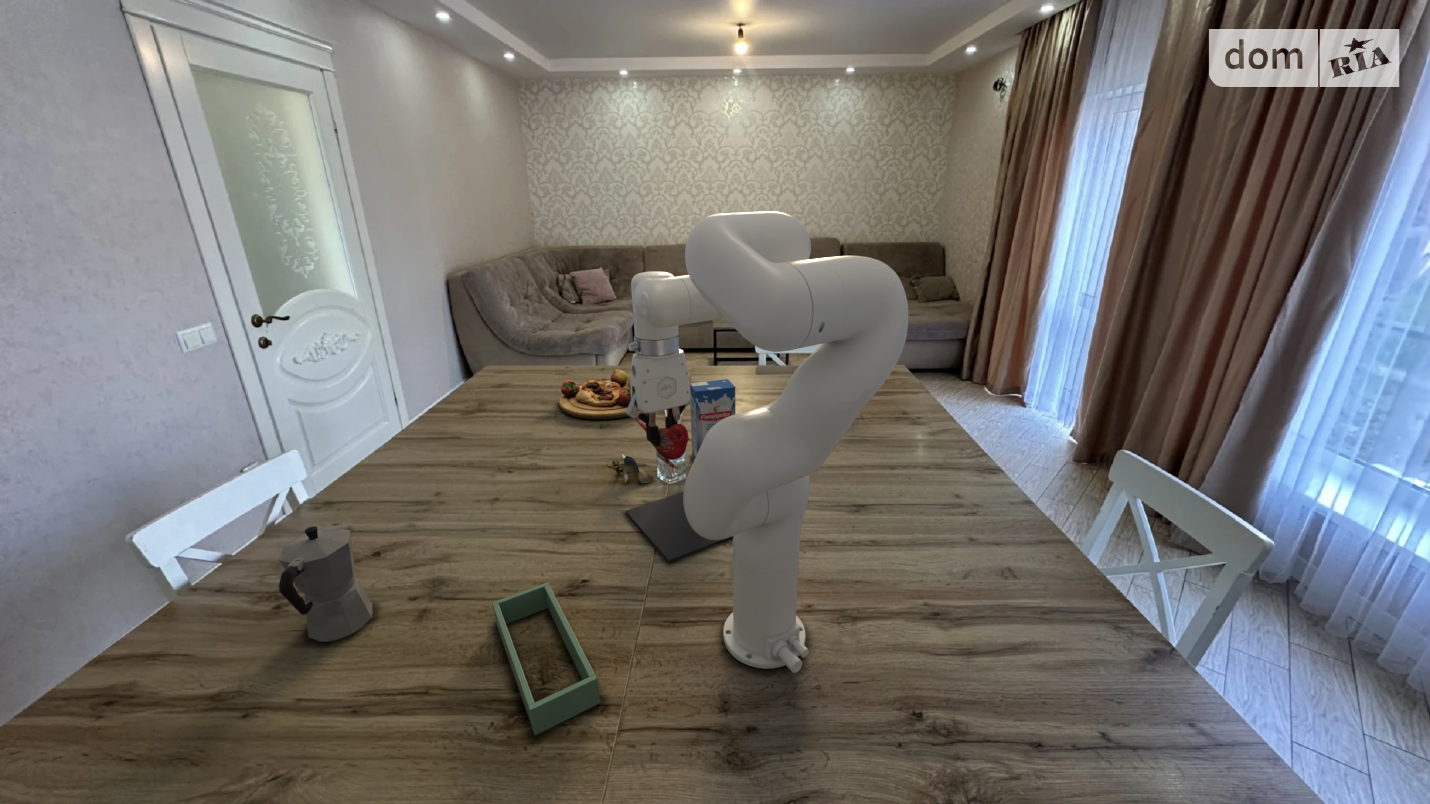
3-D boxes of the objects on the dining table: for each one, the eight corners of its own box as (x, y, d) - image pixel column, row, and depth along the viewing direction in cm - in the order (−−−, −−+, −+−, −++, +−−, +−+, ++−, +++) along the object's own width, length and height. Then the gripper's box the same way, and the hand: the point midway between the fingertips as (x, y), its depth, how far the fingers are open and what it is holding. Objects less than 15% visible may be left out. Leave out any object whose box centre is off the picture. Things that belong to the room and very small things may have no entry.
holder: (600, 703, 74) (597, 678, 73) (534, 735, 70) (529, 710, 68) (551, 603, 92) (547, 581, 91) (496, 624, 88) (491, 602, 87)
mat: (740, 534, 110) (740, 532, 109) (669, 563, 102) (668, 560, 102) (690, 491, 126) (690, 489, 125) (625, 513, 118) (625, 510, 118)
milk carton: (697, 466, 137) (695, 391, 129) (691, 456, 142) (689, 383, 135) (735, 461, 139) (735, 387, 132) (728, 450, 145) (728, 378, 137)
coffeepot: (333, 595, 95) (303, 506, 89) (390, 591, 96) (364, 502, 89) (276, 668, 81) (235, 567, 74) (344, 662, 82) (309, 562, 75)
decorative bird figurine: (685, 482, 97) (682, 431, 93) (632, 448, 109) (627, 402, 105) (698, 476, 98) (695, 426, 94) (644, 444, 111) (640, 398, 107)
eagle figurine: (604, 481, 128) (637, 481, 125) (606, 451, 130) (639, 450, 126) (622, 484, 135) (654, 484, 131) (624, 455, 137) (656, 454, 133)
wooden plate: (539, 415, 170) (535, 390, 167) (590, 382, 198) (587, 360, 195) (634, 426, 161) (631, 399, 158) (673, 389, 189) (672, 366, 186)
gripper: (622, 358, 88) (630, 460, 95) (708, 342, 96) (710, 437, 103) (604, 348, 94) (613, 444, 101) (687, 333, 102) (690, 424, 109)
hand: (662, 440), depth 102 cm, fingers closed on decorative bird figurine, 3 cm apart
